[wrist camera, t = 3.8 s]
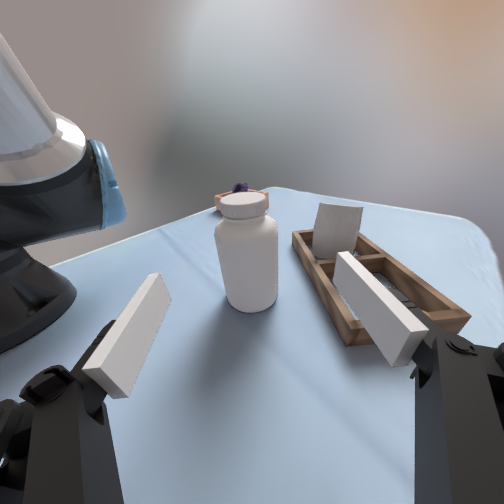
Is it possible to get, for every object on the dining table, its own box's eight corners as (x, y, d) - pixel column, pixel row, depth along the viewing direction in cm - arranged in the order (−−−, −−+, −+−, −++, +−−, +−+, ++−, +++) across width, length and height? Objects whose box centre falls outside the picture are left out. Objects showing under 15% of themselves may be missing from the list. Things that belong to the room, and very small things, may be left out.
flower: (220, 188, 67) (235, 177, 59) (239, 193, 72) (256, 183, 64) (221, 213, 66) (237, 204, 58) (241, 216, 71) (257, 209, 63)
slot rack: (458, 335, 20) (475, 314, 18) (346, 347, 20) (352, 327, 18) (347, 237, 41) (350, 223, 39) (291, 243, 41) (292, 229, 39)
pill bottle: (272, 320, 24) (266, 209, 16) (218, 308, 26) (191, 207, 19) (283, 281, 30) (283, 188, 22) (239, 274, 33) (225, 189, 25)
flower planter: (240, 218, 57) (238, 202, 55) (216, 209, 67) (214, 196, 64) (268, 207, 64) (268, 192, 62) (243, 201, 74) (242, 188, 71)
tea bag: (347, 265, 32) (360, 211, 27) (311, 255, 36) (315, 205, 31) (353, 255, 35) (365, 204, 30) (318, 247, 38) (323, 200, 33)
